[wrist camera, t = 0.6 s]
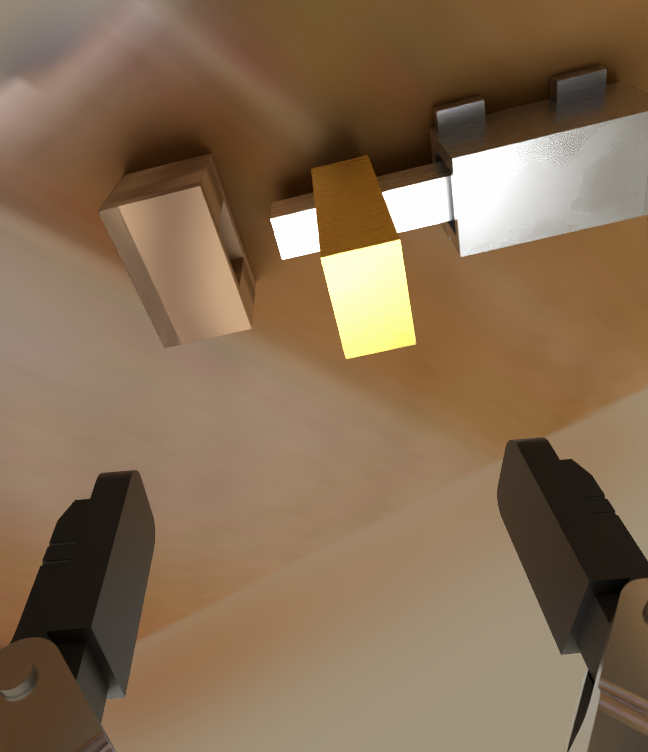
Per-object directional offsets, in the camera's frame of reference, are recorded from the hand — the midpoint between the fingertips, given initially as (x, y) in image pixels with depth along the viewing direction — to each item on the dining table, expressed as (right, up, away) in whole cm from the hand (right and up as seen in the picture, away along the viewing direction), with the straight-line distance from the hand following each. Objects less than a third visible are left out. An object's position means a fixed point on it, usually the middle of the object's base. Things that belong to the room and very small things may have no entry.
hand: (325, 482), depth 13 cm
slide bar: (+5, +12, +18) cm, 23 cm away
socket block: (-8, +11, +20) cm, 24 cm away
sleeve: (+10, +14, +19) cm, 26 cm away
